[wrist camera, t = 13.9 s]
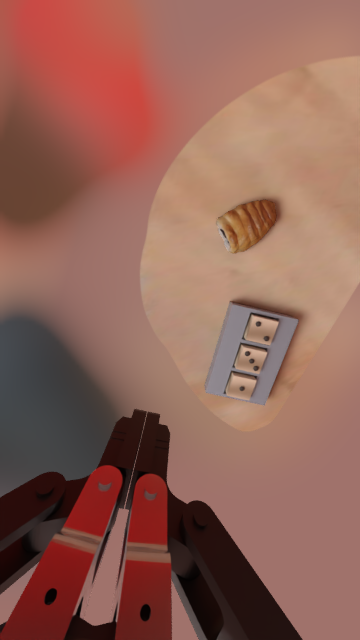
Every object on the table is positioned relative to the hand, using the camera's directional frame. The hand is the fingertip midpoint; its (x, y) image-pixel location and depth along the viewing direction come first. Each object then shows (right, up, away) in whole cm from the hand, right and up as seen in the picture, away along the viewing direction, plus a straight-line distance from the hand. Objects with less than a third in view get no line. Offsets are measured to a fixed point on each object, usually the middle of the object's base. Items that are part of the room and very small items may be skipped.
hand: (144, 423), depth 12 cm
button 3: (+15, -1, +29) cm, 33 cm away
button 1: (+14, -6, +30) cm, 34 cm away
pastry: (+12, +22, +24) cm, 35 cm away
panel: (+15, -1, +30) cm, 33 cm away
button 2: (+16, +5, +27) cm, 32 cm away
